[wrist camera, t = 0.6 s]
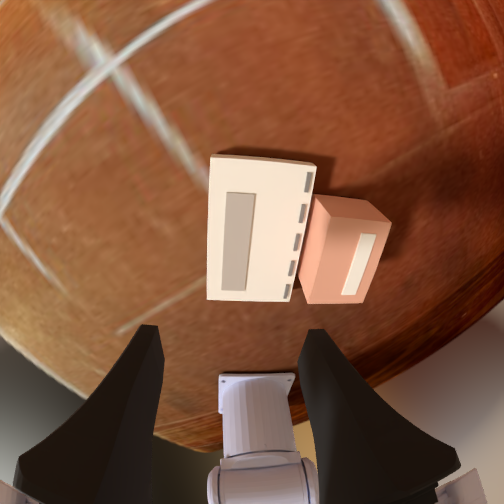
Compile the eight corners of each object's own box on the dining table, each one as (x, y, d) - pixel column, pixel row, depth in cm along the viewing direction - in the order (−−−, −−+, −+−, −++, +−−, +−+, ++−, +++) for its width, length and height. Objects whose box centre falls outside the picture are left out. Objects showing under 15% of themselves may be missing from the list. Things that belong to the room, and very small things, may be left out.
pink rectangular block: (345, 273, 20) (362, 303, 17) (296, 271, 20) (308, 304, 17) (367, 200, 17) (392, 223, 14) (312, 193, 17) (331, 217, 14)
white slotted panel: (286, 293, 21) (289, 302, 20) (207, 290, 20) (206, 300, 19) (312, 162, 16) (317, 167, 15) (211, 153, 15) (210, 157, 14)
